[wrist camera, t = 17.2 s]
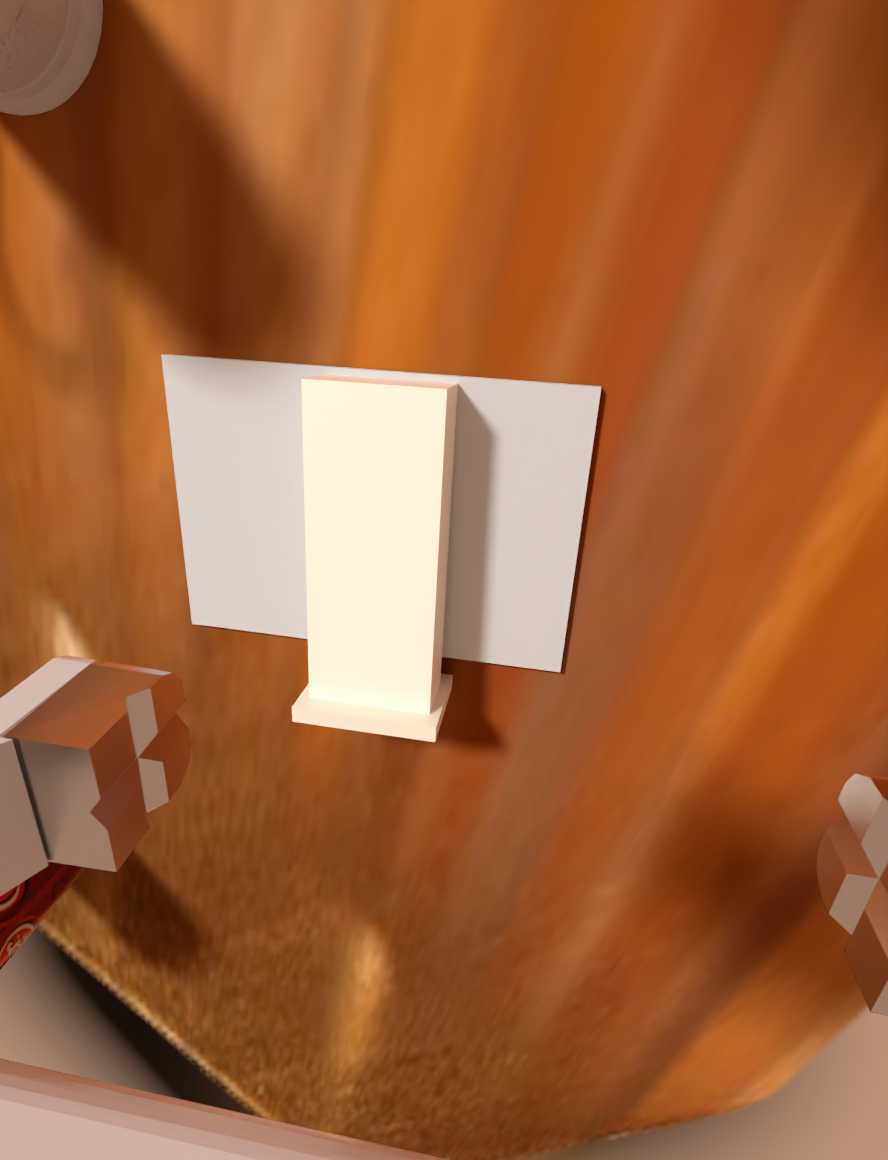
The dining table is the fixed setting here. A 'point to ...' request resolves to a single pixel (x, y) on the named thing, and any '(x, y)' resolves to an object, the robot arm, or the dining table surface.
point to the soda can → (32, 904)
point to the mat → (477, 519)
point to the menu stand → (376, 552)
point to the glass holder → (45, 51)
